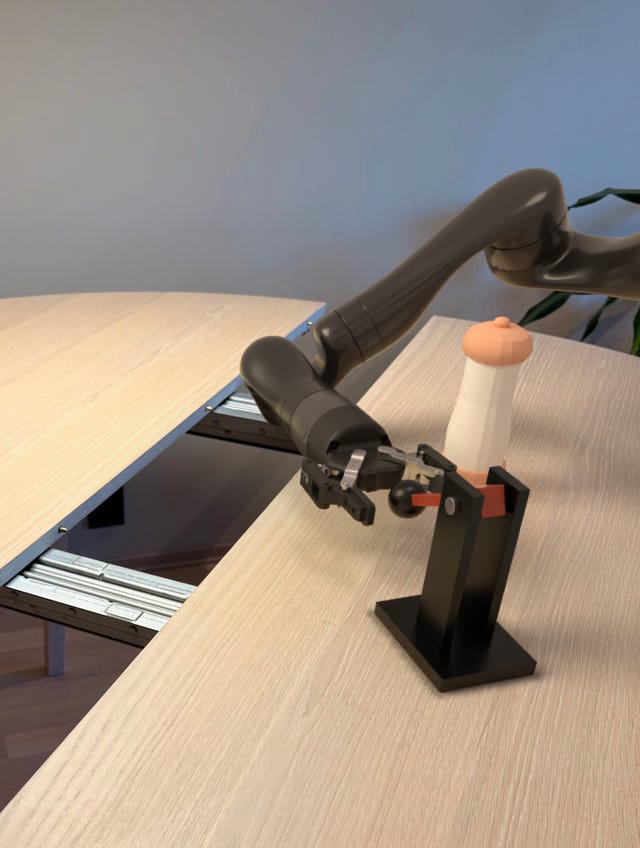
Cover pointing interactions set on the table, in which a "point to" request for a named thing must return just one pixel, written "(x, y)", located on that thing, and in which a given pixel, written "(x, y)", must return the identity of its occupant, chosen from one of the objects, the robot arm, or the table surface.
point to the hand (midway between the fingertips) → (413, 510)
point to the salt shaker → (486, 398)
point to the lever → (438, 499)
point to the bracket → (464, 590)
